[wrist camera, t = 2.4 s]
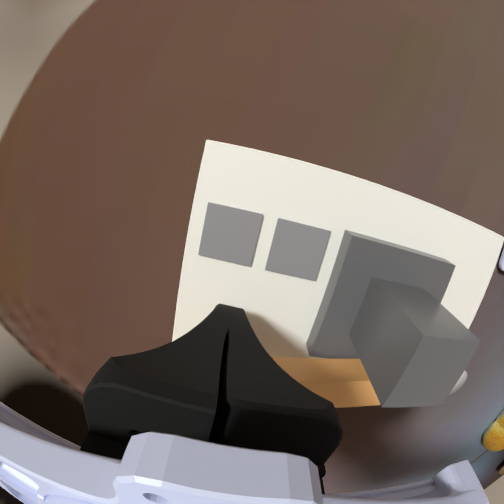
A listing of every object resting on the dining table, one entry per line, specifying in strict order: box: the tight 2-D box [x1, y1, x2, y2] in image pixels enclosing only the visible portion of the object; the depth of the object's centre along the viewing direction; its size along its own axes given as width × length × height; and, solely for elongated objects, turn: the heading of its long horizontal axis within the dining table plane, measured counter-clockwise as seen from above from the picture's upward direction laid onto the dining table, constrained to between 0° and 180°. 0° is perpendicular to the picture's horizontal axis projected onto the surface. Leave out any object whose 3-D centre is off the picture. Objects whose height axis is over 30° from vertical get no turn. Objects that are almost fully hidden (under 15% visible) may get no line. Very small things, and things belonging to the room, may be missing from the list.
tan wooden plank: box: [271, 356, 467, 408], centre depth 12 cm, size 15×2×3 cm, turn 85°
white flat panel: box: [172, 140, 504, 359], centre depth 14 cm, size 16×10×3 cm, turn 77°
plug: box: [306, 230, 481, 407], centre depth 11 cm, size 6×6×8 cm
